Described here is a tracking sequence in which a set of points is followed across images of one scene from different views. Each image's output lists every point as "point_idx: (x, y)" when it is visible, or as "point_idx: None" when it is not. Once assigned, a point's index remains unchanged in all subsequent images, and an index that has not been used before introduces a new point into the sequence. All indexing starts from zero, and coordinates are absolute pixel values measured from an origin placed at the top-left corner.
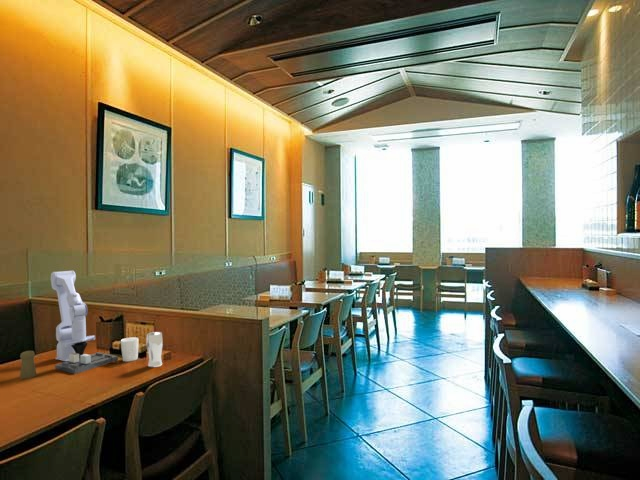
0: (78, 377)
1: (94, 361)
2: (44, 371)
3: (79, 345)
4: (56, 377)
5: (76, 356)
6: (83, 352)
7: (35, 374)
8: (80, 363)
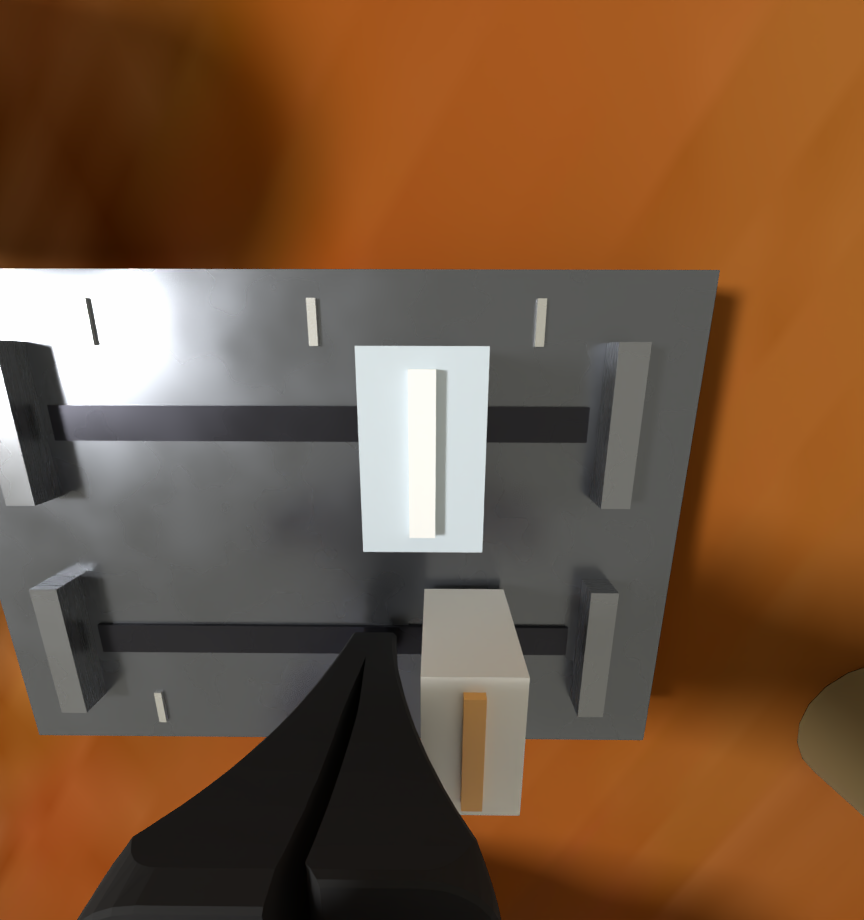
0: (772, 55)
1: (300, 379)
2: (708, 724)
3: (424, 886)
4: (843, 392)
5: (474, 647)
6: (316, 689)
7: (860, 688)
8: None
